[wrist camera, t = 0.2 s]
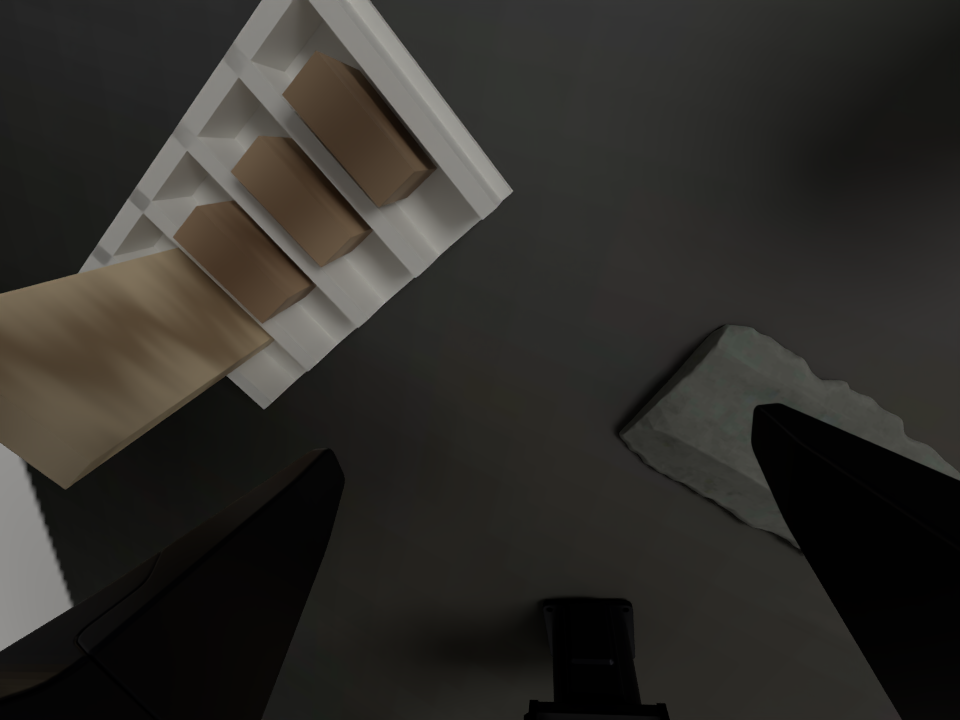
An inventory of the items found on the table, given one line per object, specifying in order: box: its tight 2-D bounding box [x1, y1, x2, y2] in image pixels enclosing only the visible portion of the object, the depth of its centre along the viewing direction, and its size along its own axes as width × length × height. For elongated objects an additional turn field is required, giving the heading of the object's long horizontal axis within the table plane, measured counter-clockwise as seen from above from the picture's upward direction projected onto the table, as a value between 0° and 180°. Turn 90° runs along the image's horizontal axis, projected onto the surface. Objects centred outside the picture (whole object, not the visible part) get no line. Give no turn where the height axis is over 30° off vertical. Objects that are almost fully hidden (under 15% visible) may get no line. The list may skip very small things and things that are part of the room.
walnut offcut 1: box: [282, 51, 437, 207], centre depth 18 cm, size 5×2×4 cm, turn 40°
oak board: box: [0, 247, 275, 490], centre depth 18 cm, size 6×2×12 cm, turn 40°
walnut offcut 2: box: [231, 136, 373, 267], centre depth 19 cm, size 5×2×4 cm, turn 40°
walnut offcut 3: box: [173, 200, 317, 324], centre depth 21 cm, size 5×2×4 cm, turn 40°
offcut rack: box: [78, 0, 513, 409], centre depth 21 cm, size 11×19×3 cm, turn 130°
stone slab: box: [619, 325, 960, 549], centre depth 25 cm, size 22×3×10 cm
